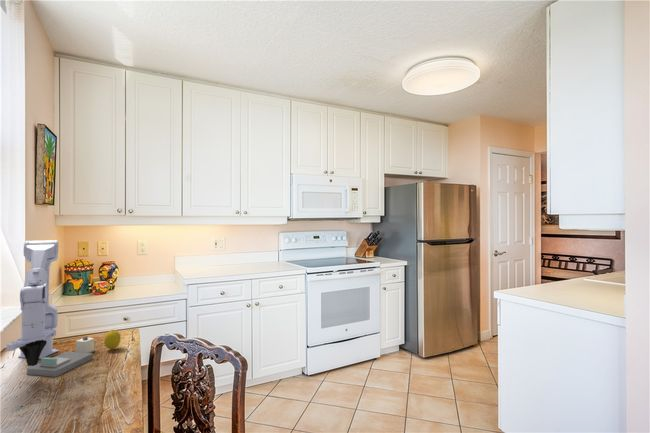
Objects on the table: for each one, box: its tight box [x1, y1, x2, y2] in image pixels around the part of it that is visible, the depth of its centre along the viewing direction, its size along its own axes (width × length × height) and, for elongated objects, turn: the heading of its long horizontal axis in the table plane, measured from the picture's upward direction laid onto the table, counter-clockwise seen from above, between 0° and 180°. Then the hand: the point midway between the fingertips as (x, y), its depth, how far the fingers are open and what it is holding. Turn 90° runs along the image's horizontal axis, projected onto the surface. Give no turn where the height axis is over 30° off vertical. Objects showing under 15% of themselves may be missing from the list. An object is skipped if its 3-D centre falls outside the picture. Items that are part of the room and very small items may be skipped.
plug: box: [75, 336, 95, 353], centre depth 134 cm, size 4×4×6 cm
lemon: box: [103, 329, 121, 351], centre depth 137 cm, size 6×6×8 cm
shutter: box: [39, 356, 70, 367], centre depth 119 cm, size 6×6×3 cm
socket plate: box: [26, 350, 94, 378], centre depth 121 cm, size 11×15×2 cm
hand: (32, 365), depth 111 cm, fingers closed
